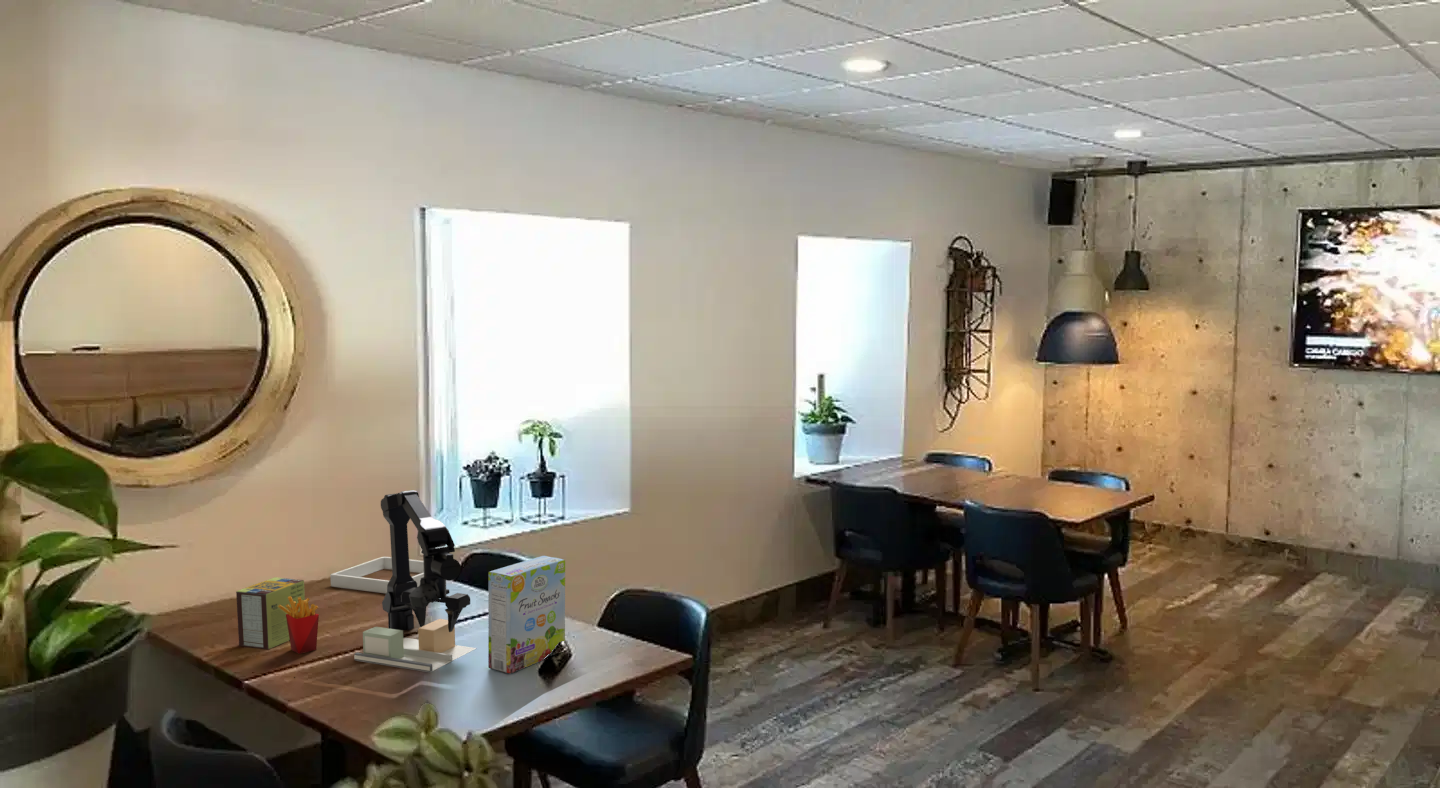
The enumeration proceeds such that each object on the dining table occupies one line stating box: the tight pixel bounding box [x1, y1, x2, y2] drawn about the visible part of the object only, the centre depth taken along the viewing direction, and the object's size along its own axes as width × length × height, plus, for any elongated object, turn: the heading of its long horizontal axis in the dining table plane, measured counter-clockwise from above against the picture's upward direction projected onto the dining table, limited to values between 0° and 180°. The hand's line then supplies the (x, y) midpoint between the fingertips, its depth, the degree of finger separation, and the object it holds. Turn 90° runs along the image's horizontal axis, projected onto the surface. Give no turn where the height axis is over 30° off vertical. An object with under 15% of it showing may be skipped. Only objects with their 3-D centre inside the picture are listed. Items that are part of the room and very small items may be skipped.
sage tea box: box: [362, 626, 404, 659], centre depth 288 cm, size 9×5×7 cm, turn 67°
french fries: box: [278, 596, 320, 655], centre depth 295 cm, size 9×8×15 cm
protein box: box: [235, 576, 306, 650], centre depth 305 cm, size 10×15×16 cm
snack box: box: [487, 555, 566, 675], centre depth 286 cm, size 22×9×26 cm, turn 148°
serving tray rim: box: [329, 556, 424, 594], centre depth 367 cm, size 28×26×4 cm
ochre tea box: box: [417, 618, 456, 653], centre depth 294 cm, size 9×5×7 cm, turn 157°
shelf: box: [353, 637, 477, 673], centre depth 291 cm, size 24×20×3 cm
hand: (436, 629), depth 293 cm, fingers open, 9 cm apart
